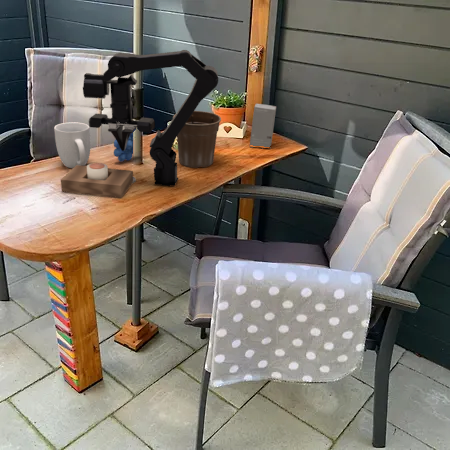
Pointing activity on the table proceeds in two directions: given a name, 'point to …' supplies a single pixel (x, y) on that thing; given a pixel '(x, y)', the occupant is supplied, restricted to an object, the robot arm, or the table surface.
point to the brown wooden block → (97, 182)
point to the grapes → (128, 151)
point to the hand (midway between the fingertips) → (123, 150)
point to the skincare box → (262, 125)
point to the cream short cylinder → (97, 171)
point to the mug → (73, 143)
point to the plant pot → (198, 139)
